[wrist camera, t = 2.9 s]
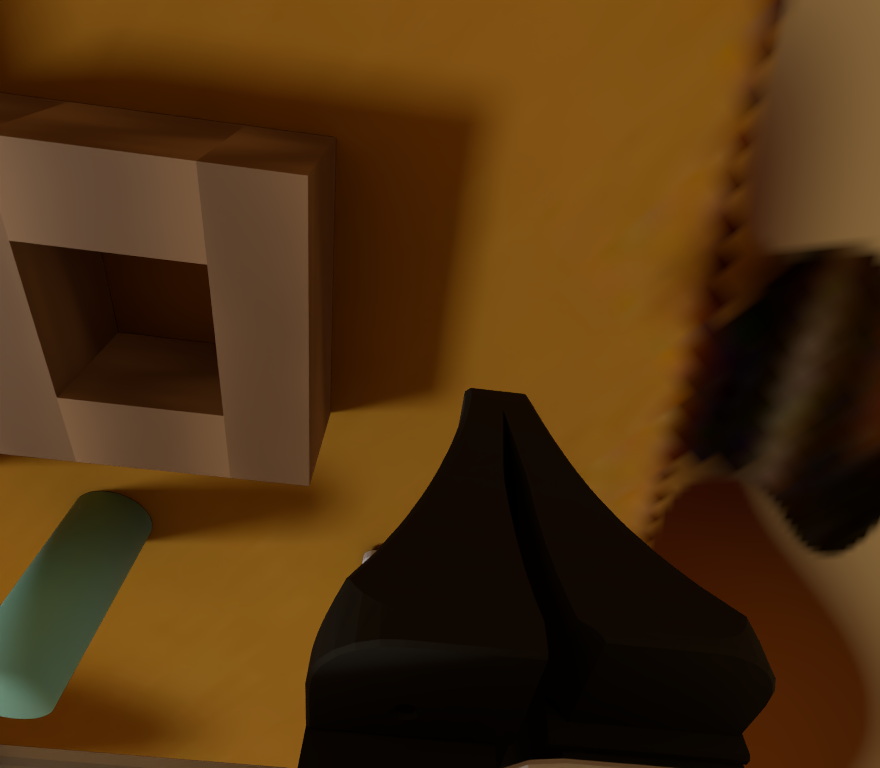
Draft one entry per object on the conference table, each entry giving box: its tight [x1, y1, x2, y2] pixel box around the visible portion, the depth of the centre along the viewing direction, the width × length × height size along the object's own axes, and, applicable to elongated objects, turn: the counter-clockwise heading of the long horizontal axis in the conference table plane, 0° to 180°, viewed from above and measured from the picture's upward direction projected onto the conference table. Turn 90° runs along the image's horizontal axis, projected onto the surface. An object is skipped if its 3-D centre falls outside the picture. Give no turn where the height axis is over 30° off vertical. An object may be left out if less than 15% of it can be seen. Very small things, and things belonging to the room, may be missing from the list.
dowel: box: [0, 491, 152, 719], centre depth 21 cm, size 3×3×7 cm
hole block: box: [0, 93, 336, 486], centre depth 16 cm, size 9×9×4 cm
